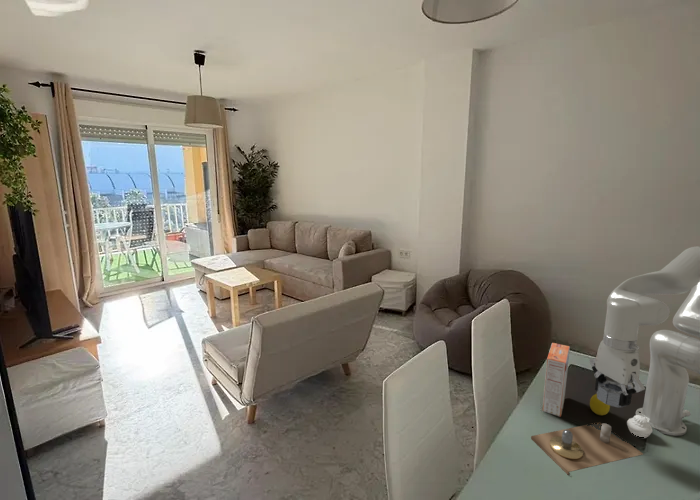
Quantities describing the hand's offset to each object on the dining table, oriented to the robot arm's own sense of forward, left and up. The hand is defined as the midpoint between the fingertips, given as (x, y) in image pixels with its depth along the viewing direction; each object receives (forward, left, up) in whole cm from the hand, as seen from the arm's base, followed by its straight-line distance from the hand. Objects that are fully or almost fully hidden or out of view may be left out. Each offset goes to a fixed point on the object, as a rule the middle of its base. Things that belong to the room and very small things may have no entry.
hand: (611, 396), depth 104 cm
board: (+7, 0, -16) cm, 17 cm away
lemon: (-10, -11, -16) cm, 22 cm away
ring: (0, 0, -1) cm, 1 cm away
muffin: (-13, 0, -16) cm, 20 cm away
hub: (+14, 0, -16) cm, 21 cm away
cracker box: (+1, -19, -16) cm, 25 cm away
